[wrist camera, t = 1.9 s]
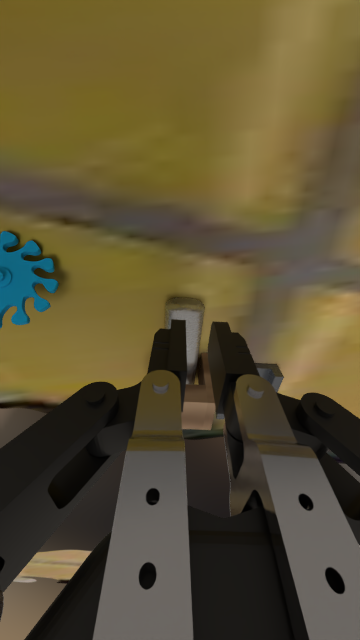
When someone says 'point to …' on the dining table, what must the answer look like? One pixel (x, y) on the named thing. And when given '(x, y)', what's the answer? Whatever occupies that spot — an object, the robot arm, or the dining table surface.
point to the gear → (22, 278)
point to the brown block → (199, 400)
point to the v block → (266, 378)
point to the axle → (187, 328)
